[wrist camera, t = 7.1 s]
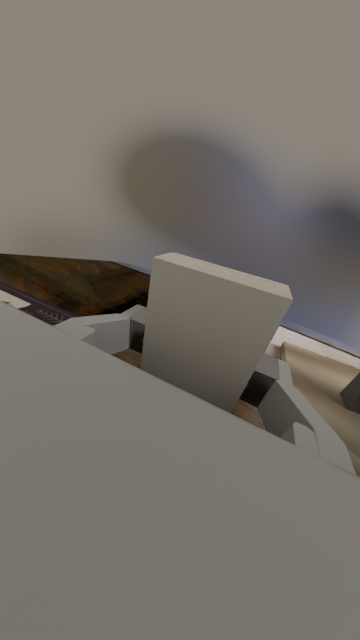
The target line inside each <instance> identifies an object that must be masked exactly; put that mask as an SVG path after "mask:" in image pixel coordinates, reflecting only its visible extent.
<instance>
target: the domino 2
mask: <svg viewBox="0 0 360 640" xmlns="http://www.w3.org/2000/svg"><path fill="white" fill-rule="evenodd" d="M340 396H341V398H342V400H343V402H344V405H345V407H346V409H348V410H350V411H352V412H355V413H357V414H360V372H359V373H358V375H357V376H356V377H355V378H354V379H353V380H352V381H351V382H350V383H349V384H348V385H347V386H346V387H345V388H344V389H343V390H342V391H341V392H340Z"/></svg>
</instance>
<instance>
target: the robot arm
mask: <svg viewBox="0 0 360 640" xmlns="http://www.w3.org/2000/svg"><path fill="white" fill-rule="evenodd" d="M146 314H147V308H146V307H143V306H141V305H136V306H134V307H132V308H130V309H129V310H127V311H125V312H123V313H121V314H107V315H96V316H86V317H75V318H70V319H68V320H65V321H63V322H61V323H59V324H57V325H54V326H51V325H49V324H47V323H45V322H43V321H41V320H39V319H37V318H35V317H33V316H31V315H29V314H27V313H25V312H23V311H21V310H19V309H17V308H15V307H13V306H11V305H9V304H7V303H5V302H3V301H1V300H0V640H360V477H359V476H357V475H356V473H355V470H354V467H353V465H352V462H351V459H350V456H349V453H348V451H347V448H346V445H345V443H344V442H343V441H342V440H341V438H340V437H339V436H338V435H337V434H336V433H335V432H334V430H333V429H332V428H331V427H330V426H329V425H328V424H327V422H326V421H325V420H324V419H323V418H322V417H321V415H320V414H319V413H318V412H317V411H316V410H315V409H314V407H313V406H312V405H311V404H310V403H309V402H308V400H307V399H306V398H305V397H304V396H303V395H302V394H301V392H300V391H299V390H298V389H297V388H295V387H293V382H292V377H291V371H290V365H289V363H288V362H286V361H283V360H280V359H277V358H274V357H272V356H269V355H266V354H263V356H262V358H261V360H260V361H259V363H258V365H257V367H256V369H255V371H254V372H253V374H252V376H251V378H250V380H249V381H248V383H247V385H246V387H245V389H244V391H243V392H242V394H241V396H240V398H239V399H241V400H243V401H245V402H247V403H249V404H251V405H253V406H255V407H257V409H258V412H259V414H260V416H261V418H262V421H263V423H264V425H265V427H266V429H267V431H265V430H263V429H261V428H259V427H257V426H255V425H253V424H251V423H249V422H247V421H245V420H243V419H241V418H239V417H237V416H235V415H233V414H231V413H229V412H227V411H225V410H222V409H220V408H218V407H216V406H214V405H212V404H210V403H208V402H206V401H204V400H202V399H200V398H198V397H196V396H194V395H192V394H190V393H188V392H186V391H184V390H182V389H180V388H178V387H176V386H174V385H171V384H169V383H167V382H165V381H163V380H161V379H159V378H157V377H155V376H153V375H151V374H149V373H147V372H145V371H143V370H141V369H139V368H137V367H135V366H133V365H131V364H129V363H127V362H125V361H123V360H121V359H119V358H117V357H114V356H112V355H111V354H114V353H117V352H120V351H123V350H126V349H129V348H130V349H132V350H135V351H137V352H139V353H142V350H143V341H144V332H145V323H146Z"/></svg>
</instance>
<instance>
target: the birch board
mask: <svg viewBox="0 0 360 640" xmlns="http://www.w3.org/2000/svg"><path fill="white" fill-rule="evenodd" d="M280 352H281V360H283V361H286V362H288V363H289V365H290V371H291V377H292V382H293V387H295V388H297V389H298V390H299V391H300V392H301V394H302V395H303V396H304V397H305V398H306V399H307V400H308V402H309V403H310V404H311V405H312V406H313V407H314V409H315V410H316V411H317V412H318V413H319V414H320V415H321V417H322V418H323V419H324V420H325V421H326V422H327V424H328V425H329V426H330V427H331V428H332V429H333V430H334V432H335V433H336V434H337V435H338V436H339V437H340V438H341V440H342V441H343V442H344V443H345V445H346V448H347V451H348V453H349V456H350V459H351V462H352V465H353V467H354V470H355V473H356V475H357V476H359V477H360V414H357V413H355V412H352V411H350V410H348V409H346V407H345V405H344V402H343V400H342V398H341V396H340V392H341V391H342V390H343V389H344V388H345V387H346V386H347V385H348V384H349V383H350V382H351V381H352V380H353V379H354V378H355V377H356V376H357V375H358V373H359V372H360V369H357V368H355V367H352V366H349V365H347V364H344V363H341V362H338V361H336V360H333V359H330V358H327V357H325V356H322V355H319V354H317V353H314V352H311V351H308V350H306V349H303V348H300V347H297V346H295V345H292V344H289V343H287V342H283V344H282V345H281V347H280Z"/></svg>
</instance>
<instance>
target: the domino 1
mask: <svg viewBox="0 0 360 640" xmlns="http://www.w3.org/2000/svg"><path fill="white" fill-rule="evenodd" d="M292 301H293V298H292V296H291V292H290V290H289V287H288V285H285V284H281V283H278V282H275V281H271V280H268V279H264V278H261V277H257V276H254V275H251V274H247V273H244V272H240V271H236V270H233V269H229V268H226V267H223V266H219V265H215V264H212V263H209V262H205V261H201V260H199V259H195V258H191V257H188V256H185V255H181V254H178V253H174V252H172V253H167V254H163V255H159V256H155V257H153V261H152V270H151V279H150V288H149V296H148V305H147V314H146V323H145V332H144V341H143V350H142V359H141V368H140V369H141V370H143V371H145V372H147V373H149V374H151V375H153V376H155V377H157V378H159V379H161V380H163V381H165V382H167V383H169V384H171V385H174V386H176V387H178V388H180V389H182V390H184V391H186V392H188V393H190V394H192V395H194V396H196V397H198V398H200V399H202V400H204V401H206V402H208V403H210V404H212V405H214V406H216V407H218V408H220V409H222V410H225V411H227V412H229V413H231V412H232V411H233V409H234V407H235V405H236V403H237V402H238V400H239V398H240V396H241V394H242V392H243V391H244V389H245V387H246V385H247V383H248V381H249V380H250V378H251V376H252V374H253V372H254V371H255V369H256V367H257V365H258V363H259V361H260V360H261V358H262V356H263V354H264V352H265V350H266V349H267V347H268V345H269V343H270V341H271V340H272V338H273V336H274V334H275V332H276V330H277V329H278V327H279V325H280V323H281V321H282V319H283V318H284V316H285V314H286V312H287V310H288V308H289V306H290V305H291V303H292Z"/></svg>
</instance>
